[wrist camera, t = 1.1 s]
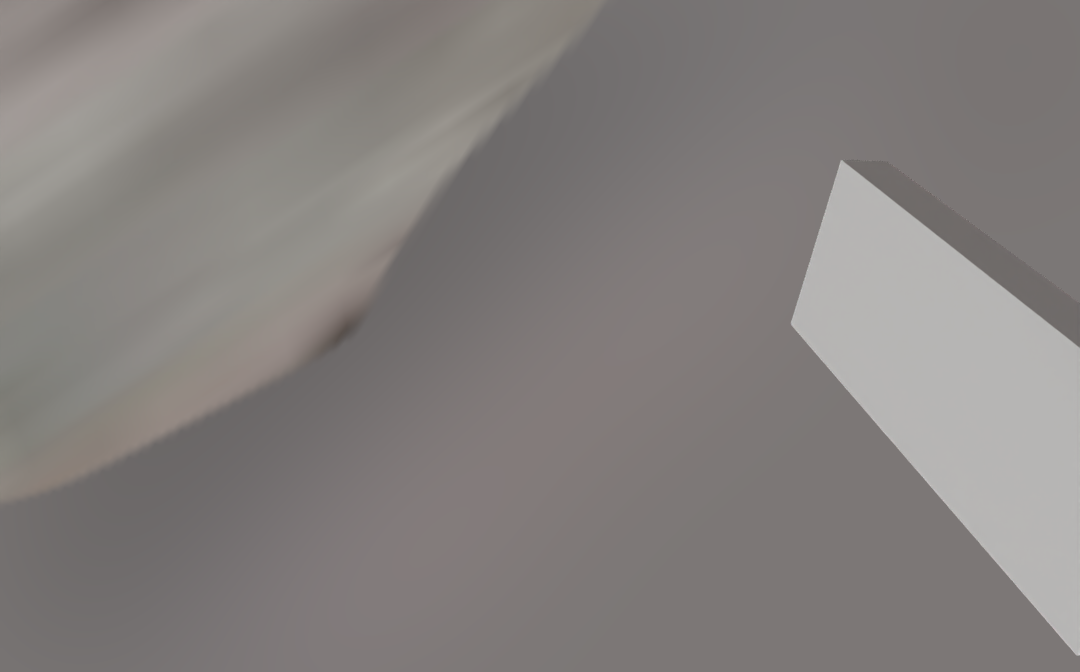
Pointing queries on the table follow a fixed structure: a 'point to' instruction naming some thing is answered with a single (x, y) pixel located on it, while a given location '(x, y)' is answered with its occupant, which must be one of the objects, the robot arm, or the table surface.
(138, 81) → the table surface
